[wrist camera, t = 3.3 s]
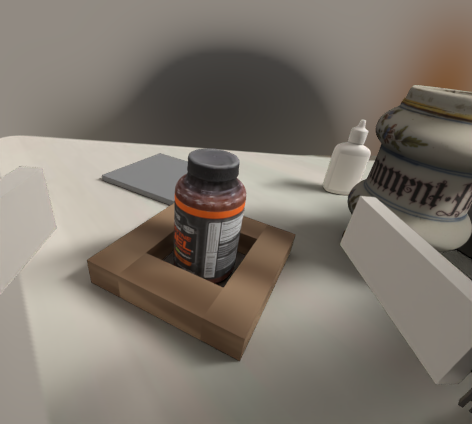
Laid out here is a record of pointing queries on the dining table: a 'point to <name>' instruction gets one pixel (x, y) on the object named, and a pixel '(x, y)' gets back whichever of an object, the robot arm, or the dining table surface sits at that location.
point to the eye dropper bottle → (348, 162)
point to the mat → (151, 177)
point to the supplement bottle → (208, 214)
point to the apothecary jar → (425, 165)
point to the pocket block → (195, 281)
